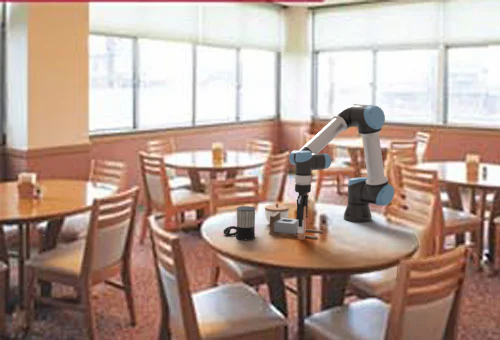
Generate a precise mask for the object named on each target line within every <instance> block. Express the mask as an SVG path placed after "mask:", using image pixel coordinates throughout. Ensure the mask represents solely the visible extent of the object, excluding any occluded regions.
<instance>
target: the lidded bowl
mask: <svg viewBox="0 0 500 340" xmlns="http://www.w3.org/2000/svg"><path fill="white" fill-rule="evenodd" d="M289 211H290V206H287V205H284V204H279V203H278V202H276V203H275V204H269V205H265V206H264V214H265V215H264V216H265V219H266V221H267V222H268V223H269V224H270V216H271V215H272V214H274V213H275V212H280V218H288V217H289V213H290V212H289Z"/></svg>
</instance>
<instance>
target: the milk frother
mask: <svg viewBox="0 0 500 340" xmlns="http://www.w3.org/2000/svg"><path fill="white" fill-rule="evenodd" d="M255 220H256V207H254V206H249V205H243V206H238V207H236V226H235V225H232V226H231V225H229V226H228V227H225V228H224V229H223V234H224V235H225V236H236V237H235V238H236V240H239V241H253V240H255V239H256V236H255V235H256V234H255V231H256V230H255V224H256V223H255V222H256V221H255ZM231 230H235V232H231ZM230 232H231V233H230Z"/></svg>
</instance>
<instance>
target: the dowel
mask: <svg viewBox="0 0 500 340" xmlns="http://www.w3.org/2000/svg"><path fill="white" fill-rule="evenodd" d="M306 216H307V215H306V206H304V215H303V220H304V231H303V233H298V232H297V234H298V237H297V240H300V241H304V240H306V238H305V235H306V232H305V225H306V224H307V218H306ZM306 226H307V225H306Z"/></svg>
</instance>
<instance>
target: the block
mask: <svg viewBox="0 0 500 340" xmlns="http://www.w3.org/2000/svg"><path fill="white" fill-rule="evenodd" d="M274 232H279V233H289V234H298V220H296V218H279V219H277V220H276V221H275V222H274Z"/></svg>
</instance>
